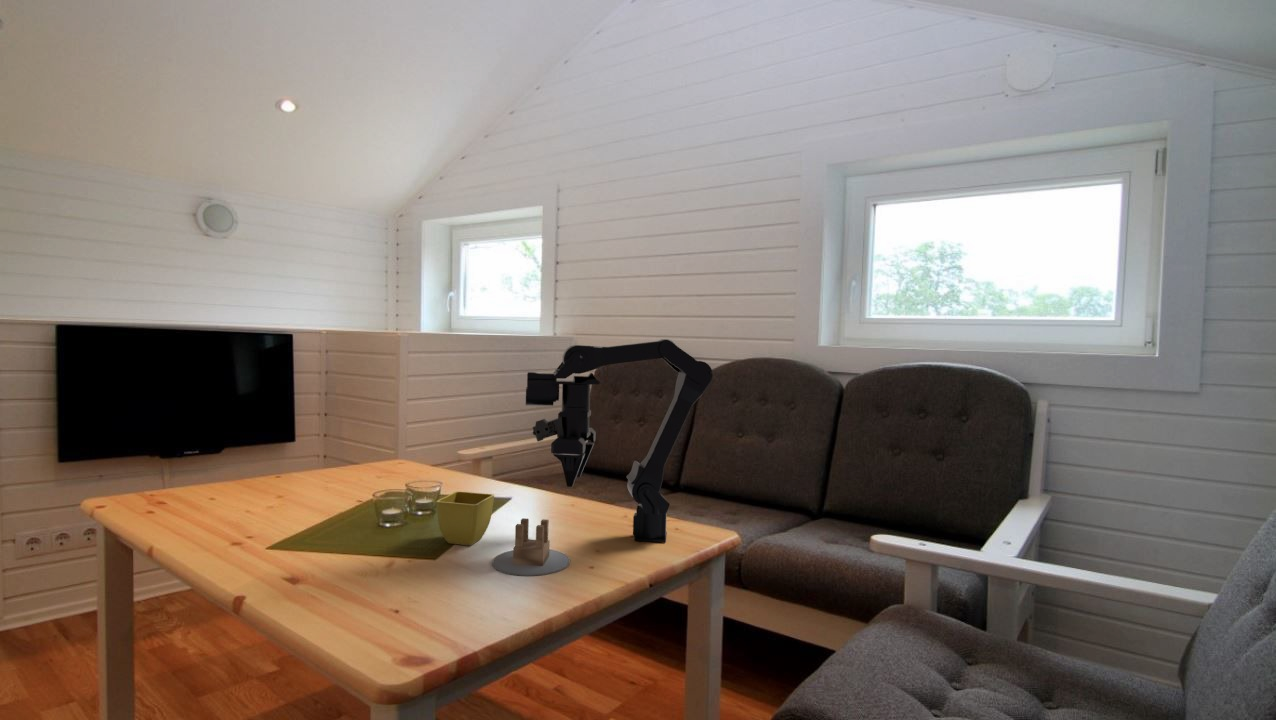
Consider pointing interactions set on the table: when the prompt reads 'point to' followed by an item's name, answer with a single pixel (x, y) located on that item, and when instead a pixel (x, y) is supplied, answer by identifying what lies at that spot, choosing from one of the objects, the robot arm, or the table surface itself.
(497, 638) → the table surface
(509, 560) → the mat
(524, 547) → the stool
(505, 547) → the table surface
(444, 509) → the flower pot
